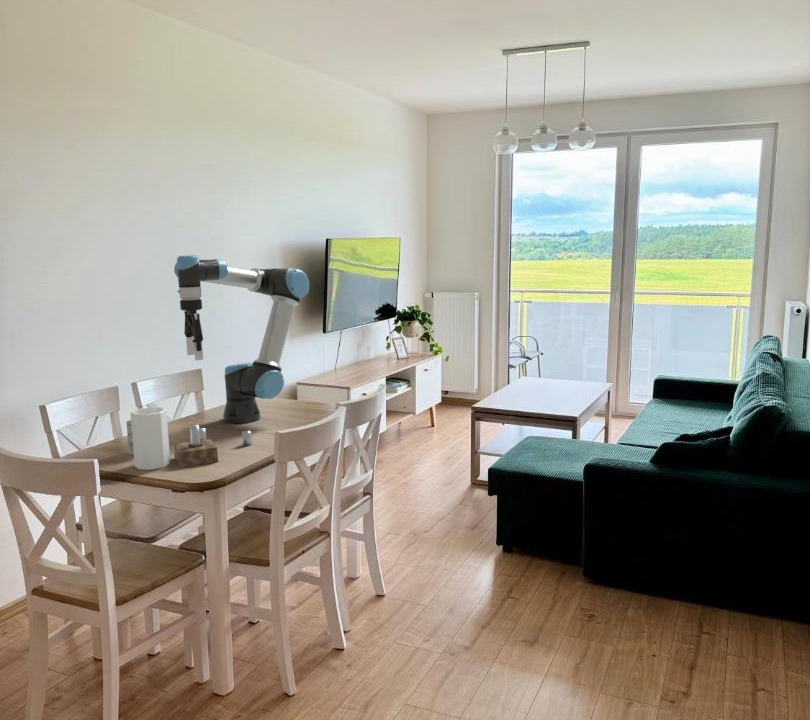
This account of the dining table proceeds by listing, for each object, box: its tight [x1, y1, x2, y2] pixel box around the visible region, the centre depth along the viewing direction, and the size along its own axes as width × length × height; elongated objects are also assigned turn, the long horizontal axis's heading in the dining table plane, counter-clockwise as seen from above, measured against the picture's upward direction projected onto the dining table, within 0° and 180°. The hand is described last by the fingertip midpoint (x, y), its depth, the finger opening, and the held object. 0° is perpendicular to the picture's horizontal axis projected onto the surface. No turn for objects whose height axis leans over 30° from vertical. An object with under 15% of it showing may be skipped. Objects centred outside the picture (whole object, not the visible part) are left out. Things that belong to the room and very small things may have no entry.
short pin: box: [241, 429, 253, 447], centre depth 270 cm, size 3×3×5 cm
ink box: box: [126, 419, 134, 455], centre depth 261 cm, size 9×5×12 cm, turn 66°
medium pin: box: [199, 427, 207, 440], centre depth 262 cm, size 3×3×8 cm
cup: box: [130, 406, 171, 471], centre depth 246 cm, size 11×11×18 cm
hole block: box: [173, 438, 219, 468], centre depth 252 cm, size 12×12×5 cm
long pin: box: [188, 423, 201, 448], centre depth 251 cm, size 3×3×12 cm
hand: (195, 357), depth 272 cm, fingers open, 13 cm apart
